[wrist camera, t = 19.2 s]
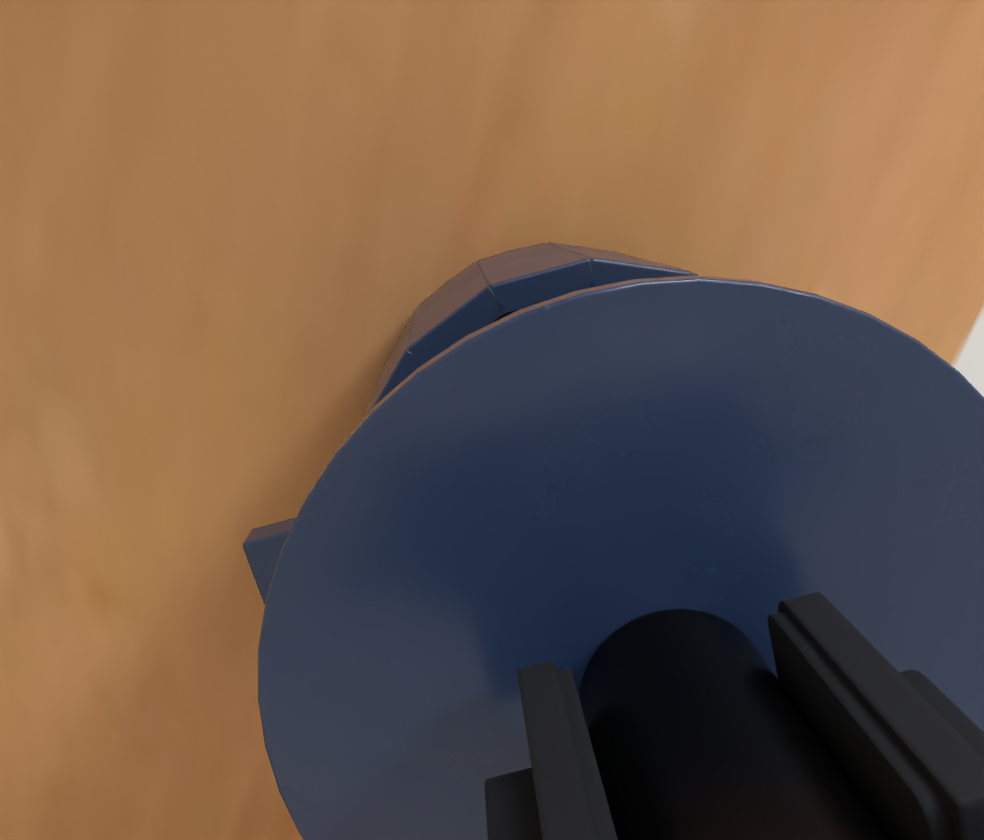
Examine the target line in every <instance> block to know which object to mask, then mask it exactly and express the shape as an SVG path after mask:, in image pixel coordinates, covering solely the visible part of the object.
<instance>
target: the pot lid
mask: <svg viewBox="0 0 984 840" xmlns="http://www.w3.org/2000/svg"><path fill="white" fill-rule="evenodd" d="M815 592H820V593H821V594H822V595H824V596H825V597H826V598H827V599H828V600H829V601H830V602H831V603H832V605H833V606H834V607H835V608H836V609H837V610H838V611H839V612H840V613H841V614H842V615H843V616H844V617H845V618H846V619H847V620H848V621H849V622H850V623H851V624H852V625H853V626H854V627H855V628H856V629H857V630H858V631H859V632H860V633H861V634H862V635H863V636H864V637H865V638H866V639H867V640H868V641H869V642H870V643H871V644H872V645H873V646H874V647H875V648H876V649H877V650H878V651H879V652H880V654H881V655H882V656H883V657H884V658H885V659H886V660H887V661H888V662H889V663H890V664H891V665H892V666H893V667H894V668H895V669H896V670H897V671H898V672H899V673H900V672H903V671H907V670H911V669H912V670H916V671H919V672H921V673H922V674H923V675H924V676H926V677H927V678H928V679H929V680H930V681H931V682H932V683H933V684H934V685H935V686H936V687H937V688H938V689H939V690H941V691H942V692H943V693H944V694H945V695H946V696H947V697H948V698H949V699H950V700H951V701H952V702H953V703H954V704H955V705H956V706H957V707H958V708H959V709H960V710H961V711H962V712H963V713H964V714H965V715H966V716H967V717H968V718H969V719H970V720H971V721H972V722H973V723H974V724H975V725H977V726H978V727H979V728H980V729H981V730H982V731H983V732H984V397H983V396H982V395H981V394H980V393H979V392H978V391H977V390H976V389H975V388H974V387H973V386H972V385H971V384H970V383H969V382H968V381H967V380H966V378H965V377H964V376H963V375H961V373H960V372H959V371H957V370H956V369H955V368H953V367H952V366H951V365H949V364H948V363H947V362H946V361H944V360H943V359H942V358H940V357H939V356H938V355H936V354H935V353H934V352H932V351H931V350H930V349H928V348H927V347H926V346H925V345H923V344H922V343H921V342H919V341H918V340H916V339H915V338H913V337H911V336H909V335H907V334H905V333H904V332H902V331H900V330H898V329H896V328H894V327H893V326H891V325H889V324H887V323H885V322H883V321H882V320H880V319H878V318H876V317H874V316H873V315H871V314H868V313H866V312H863V311H860V310H858V309H855V308H852V307H850V306H847V305H844V304H841V303H839V302H836V301H833V300H831V299H828V298H825V297H822V296H820V295H817V294H813V293H808V292H804V291H799V290H794V289H790V288H785V287H780V286H776V285H771V284H766V283H762V282H757V281H753V280H745V279H731V278H717V277H704V276H679V277H663V278H646V279H633V280H628V281H623V282H617V283H612V284H607V285H602V286H597V287H592V288H587V289H582V290H577V291H573V292H570V293H568V294H565V295H562V296H559V297H556V298H553V299H550V300H547V301H544V302H541V303H538V304H535V305H532V306H529V307H526V308H523V309H520V310H518V311H516V312H514V313H512V314H510V315H508V316H506V317H504V318H501V319H499V320H497V321H495V322H493V323H491V324H489V325H487V326H485V327H483V328H481V329H479V330H477V331H475V332H473V333H471V334H469V335H467V336H465V337H464V338H462V339H461V340H459V341H458V342H456V343H455V344H453V345H452V346H450V347H449V348H447V349H446V350H444V351H443V352H441V353H440V354H438V355H437V356H435V357H434V358H432V359H431V360H429V361H427V362H426V363H424V364H423V365H421V366H420V367H418V368H417V369H416V370H415V371H414V372H413V373H412V374H410V375H409V376H408V377H407V378H406V379H405V380H403V381H402V382H401V383H400V384H399V385H398V386H397V387H395V388H394V389H393V390H392V391H391V392H390V393H389V394H387V395H386V396H385V397H384V398H383V399H382V400H381V401H379V402H378V403H377V404H376V405H375V406H374V407H373V408H372V409H371V411H370V412H369V413H368V414H367V415H366V416H365V417H364V419H363V420H362V421H361V422H360V423H359V424H358V425H357V426H356V428H355V429H354V430H353V431H352V432H351V433H350V434H349V436H348V437H347V438H346V439H345V440H344V441H343V442H342V444H341V445H340V446H339V447H338V449H337V450H336V452H335V453H334V455H333V456H332V458H331V459H330V461H329V462H328V464H327V465H326V467H325V468H324V470H323V471H322V473H321V474H320V476H319V477H318V479H317V480H316V482H315V483H314V485H313V486H312V488H311V489H310V491H309V493H308V495H307V497H306V499H305V501H304V503H303V505H302V507H301V509H300V511H299V513H298V516H297V518H296V520H295V522H294V524H293V526H292V528H291V530H290V532H289V535H288V537H287V539H286V541H285V543H284V545H283V547H282V549H281V552H280V555H279V558H278V562H277V565H276V568H275V571H274V575H273V578H272V581H271V584H270V588H269V591H268V594H267V598H266V601H265V608H264V615H263V621H262V628H261V634H260V641H259V647H258V702H259V708H260V715H261V721H262V728H263V735H264V741H265V747H266V750H267V753H268V756H269V760H270V763H271V766H272V769H273V773H274V776H275V779H276V782H277V786H278V789H279V792H280V794H281V796H282V798H283V800H284V802H285V804H286V806H287V808H288V811H289V813H290V815H291V817H292V819H293V821H294V823H295V825H296V827H297V829H298V831H299V833H300V835H301V836H302V838H303V839H304V840H488V834H487V818H486V803H485V780H486V779H489V778H493V777H496V776H500V775H504V774H508V773H512V772H516V771H520V770H524V769H527V768H531V767H532V766H531V760H530V753H529V747H528V740H527V734H526V727H525V721H524V714H523V708H522V701H521V695H520V688H519V681H518V675H517V670H518V669H522V668H526V667H530V666H534V665H538V664H541V663H545V662H549V661H554V664H555V668H556V670H560V669H564V668H568V667H571V670H572V674H573V677H574V681H575V685H576V688H577V692H578V696H579V699H580V703H581V707H582V710H583V714H584V718H585V721H586V725H587V729H588V732H589V736H590V740H591V743H592V747H593V751H594V754H595V758H596V762H597V765H598V769H599V773H600V776H601V780H602V784H603V787H604V791H605V795H606V798H607V802H608V806H609V809H610V813H611V817H612V820H613V824H614V828H615V831H616V835H617V839H618V840H891V838H890V837H889V835H888V834H887V833H886V831H885V830H884V828H883V827H882V826H881V824H880V823H879V821H878V820H877V819H876V817H875V816H874V814H873V813H872V811H871V810H870V809H869V807H868V806H867V804H866V803H865V802H864V800H863V799H862V797H861V796H860V795H859V793H858V792H857V790H856V789H855V787H854V786H853V785H852V783H851V782H850V780H849V779H848V778H847V776H846V775H845V773H844V772H843V771H842V769H841V768H840V766H839V765H838V763H837V762H836V761H835V759H834V758H833V756H832V755H831V754H830V752H829V751H828V749H827V748H826V747H825V745H824V744H823V742H822V741H821V740H820V738H819V737H818V735H817V734H816V732H815V731H814V730H813V728H812V727H811V725H810V724H809V723H808V721H807V720H806V718H805V717H804V716H803V714H802V713H801V711H800V710H799V708H798V707H797V706H796V704H795V703H794V701H793V700H792V699H791V697H790V696H789V694H788V693H787V692H786V690H785V689H784V687H783V686H782V684H781V683H780V682H779V680H778V677H777V671H776V666H775V660H774V655H773V649H772V644H771V638H770V633H769V627H768V616H769V615H772V614H776V613H778V604H779V602H780V601H784V600H788V599H792V598H796V597H799V596H803V595H807V594H811V593H815Z"/></svg>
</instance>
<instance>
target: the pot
mask: <svg viewBox="0 0 984 840" xmlns="http://www.w3.org/2000/svg"><path fill="white" fill-rule="evenodd" d="M679 276H699V275H697V274H695V273H692V272H689V271H686V270H682V269H679V268H675V267H671V266H667V265H663V264H659V263H656V262H652V261H648V260H644V259H640V258H636V257H633V256H629V255H625V254H621V253H617V252H613V251H606V250H598V249H591V248H584V247H580V246H570V245H563V244H556V243H549V242H548V243H541V244H537V245H533V246H529V247H525V248H520V249H515V250H510V251H507V252H504V253H501V254H498V255H495V256H492V257H488V258H485V259H481V260H478V261H476V262H473V263H472V264H471V265H469V266H468V267H467V268H466V269H464V270H463V271H462V272H460V273H459V274H457V275H456V276H454V277H453V278H451V279H450V280H449V281H447V282H446V283H445V284H444V285H442V286H441V287H440V288H439V289H438V290H437V291H436V292H435V293H433V294H432V295H431V296H430V297H428V298H427V299H426V300H424V301H423V302H422V303H420V304H419V306H418V307H417V308H416V310H415V312H414V313H413V315H412V317H411V319H410V321H409V322H408V324H407V326H406V328H405V329H404V331H403V332H402V334H401V336H400V338H399V340H398V342H397V344H396V346H395V347H394V349H393V351H392V353H391V354H390V356H389V358H388V360H387V362H386V363H385V365H384V367H383V370H382V373H381V375H380V378H379V380H378V383H377V385H376V388H375V391H374V393H373V396H372V398H371V401H370V403H369V406H368V409H367V411H366V414H365V416H366V415H367V414H368V413H369V412H370V411H371V409H372V408H373V407H374V406H375V405H376V404H377V403H378V402H379V401H381V400H382V399H383V398H384V397H385V396H386V395H387V394H389V393H390V392H391V391H392V390H393V389H394V388H395V387H397V386H398V385H399V384H400V383H401V382H402V381H403V380H405V379H406V378H407V377H408V376H409V375H410V374H412V373H413V372H414V371H415V370H416V369H417V368H418V367H420V366H421V365H423V364H424V363H426V362H427V361H429V360H431V359H432V358H434V357H435V356H437V355H438V354H440V353H441V352H443V351H444V350H446V349H447V348H449V347H450V346H452V345H453V344H455V343H456V342H458V341H459V340H461V339H462V338H464V337H465V336H467V335H469V334H471V333H473V332H475V331H477V330H479V329H481V328H483V327H485V326H487V325H489V324H491V323H493V322H495V321H497V320H499V319H501V318H504V317H506V316H508V315H510V314H512V313H514V312H516V311H518V310H520V309H523V308H526V307H529V306H532V305H535V304H538V303H541V302H544V301H547V300H550V299H553V298H556V297H559V296H562V295H565V294H568V293H570V292H573V291H577V290H582V289H587V288H592V287H597V286H602V285H607V284H612V283H617V282H623V281H628V280H633V279H646V278H663V277H679ZM365 416H364V417H365ZM296 518H297V517H296ZM296 518H293V519H289V520H285V521H281V522H277V523H274V524H270V525H266V526H262V527H259V528H255V529H252V530H251V532H250V533H249V535H248V537H247V538H246V540H245V542H244V543H243V548H244V551H245V554H246V556H247V559H248V562H249V564H250V567H251V570H252V572H253V575H254V578H255V580H256V583H257V586H258V588H259V591H260V594H261V596H262V599H263V602H264V604H265V601H266V598H267V594H268V591H269V588H270V584H271V581H272V578H273V575H274V571H275V568H276V565H277V562H278V558H279V555H280V552H281V549H282V547H283V545H284V543H285V541H286V539H287V537H288V535H289V532H290V530H291V528H292V526H293V524H294V522H295V520H296Z"/></svg>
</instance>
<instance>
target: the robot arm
mask: <svg viewBox="0 0 984 840" xmlns="http://www.w3.org/2000/svg"><path fill="white" fill-rule="evenodd" d="M768 627H769V633H770V638H771V644H772V649H773V655H774V660H775V666H776V671H777V677H778V680H779V682H780V683H781V684H782V686H783V687H784V689H785V690H786V692H787V693H788V694H789V696H790V697H791V699H792V700H793V701H794V703H795V704H796V706H797V707H798V708H799V710H800V711H801V713H802V714H803V716H804V717H805V718H806V720H807V721H808V723H809V724H810V725H811V727H812V728H813V730H814V731H815V732H816V734H817V735H818V737H819V738H820V740H821V741H822V742H823V744H824V745H825V747H826V748H827V749H828V751H829V752H830V754H831V755H832V756H833V758H834V759H835V761H836V762H837V763H838V765H839V766H840V768H841V769H842V771H843V772H844V773H845V775H846V776H847V778H848V779H849V780H850V782H851V783H852V785H853V786H854V787H855V789H856V790H857V792H858V793H859V795H860V796H861V797H862V799H863V800H864V802H865V803H866V804H867V806H868V807H869V809H870V810H871V811H872V813H873V814H874V816H875V817H876V819H877V820H878V821H879V823H880V824H881V826H882V827H883V828H884V830H885V831H886V833H887V834H888V835H889V837H890V838H891V840H984V732H983V731H982V730H981V729H980V728H979V727H978V726H977V725H975V724H974V723H973V722H972V721H971V720H970V719H969V718H968V717H967V716H966V715H965V714H964V713H963V712H962V711H961V710H960V709H959V708H958V707H957V706H956V705H955V704H954V703H953V702H952V701H951V700H950V699H949V698H948V697H947V696H946V695H945V694H944V693H943V692H942V691H941V690H939V689H938V688H937V687H936V686H935V685H934V684H933V683H932V682H931V681H930V680H929V679H928V678H927V677H926V676H924V675H923V674H922V673H921V672H919V671H916V670H912V669H911V670H907V671H903V672H900V673H899V672H898V671H897V670H896V669H895V668H894V667H893V666H892V665H891V664H890V663H889V662H888V661H887V660H886V659H885V658H884V657H883V656H882V655H881V654H880V652H879V651H878V650H877V649H876V648H875V647H874V646H873V645H872V644H871V643H870V642H869V641H868V640H867V639H866V638H865V637H864V636H863V635H862V634H861V633H860V632H859V631H858V630H857V629H856V628H855V627H854V626H853V625H852V624H851V623H850V622H849V621H848V620H847V619H846V618H845V617H844V616H843V615H842V614H841V613H840V612H839V611H838V610H837V609H836V608H835V607H834V606H833V605H832V603H831V602H830V601H829V600H828V599H827V598H826V597H825V596H824V595H822V594H821V593H820V592H815V593H811V594H807V595H803V596H799V597H796V598H792V599H788V600H784V601H780V602H779V604H778V613H776V614H772V615H769V616H768ZM517 675H518V681H519V688H520V695H521V701H522V708H523V714H524V721H525V727H526V734H527V740H528V747H529V753H530V760H531V766H532V767H531V768H527V769H524V770H520V771H516V772H512V773H508V774H504V775H500V776H496V777H493V778H489V779H486V780H485V803H486V818H487V834H488V840H618V839H617V835H616V831H615V828H614V824H613V820H612V817H611V813H610V809H609V806H608V802H607V798H606V795H605V791H604V787H603V784H602V780H601V776H600V773H599V769H598V765H597V762H596V758H595V754H594V751H593V747H592V743H591V740H590V736H589V732H588V729H587V725H586V721H585V718H584V714H583V710H582V707H581V703H580V699H579V696H578V692H577V688H576V685H575V681H574V677H573V674H572V670H571V667H568V668H564V669H560V670H556V668H555V664H554V661H549V662H545V663H541V664H538V665H534V666H530V667H526V668H522V669H518V670H517Z"/></svg>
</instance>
